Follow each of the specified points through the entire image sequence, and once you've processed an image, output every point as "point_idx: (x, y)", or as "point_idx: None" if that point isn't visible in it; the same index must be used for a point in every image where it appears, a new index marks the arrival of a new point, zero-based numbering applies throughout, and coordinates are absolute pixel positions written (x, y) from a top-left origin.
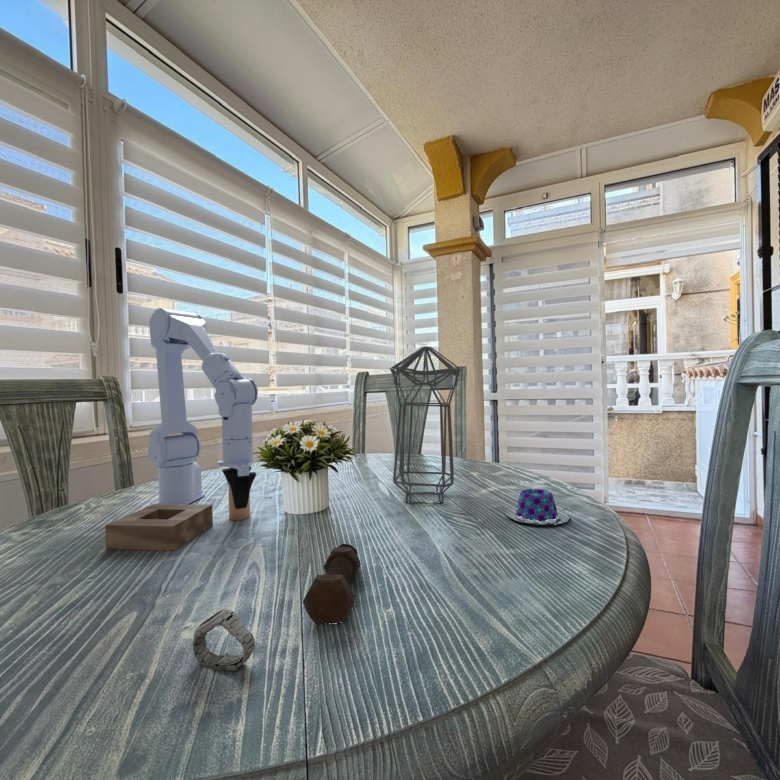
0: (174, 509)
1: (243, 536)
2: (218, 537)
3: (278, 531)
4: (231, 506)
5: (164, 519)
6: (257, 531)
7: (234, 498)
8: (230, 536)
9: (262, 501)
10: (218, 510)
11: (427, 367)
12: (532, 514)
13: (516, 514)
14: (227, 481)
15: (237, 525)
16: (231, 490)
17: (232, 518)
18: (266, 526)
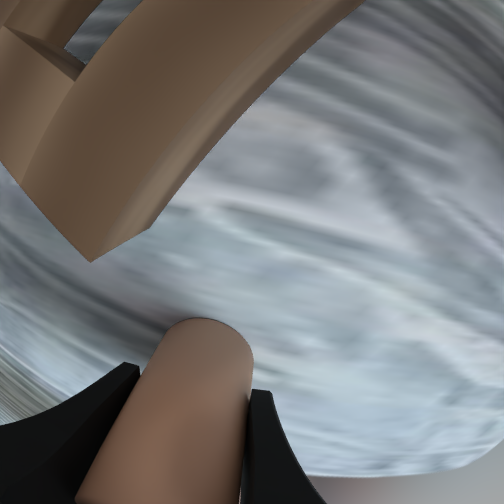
0: (139, 5)
1: (8, 284)
2: (20, 216)
3: (23, 364)
4: (157, 361)
5: (11, 12)
6: (31, 331)
7: (83, 391)
8: (16, 253)
9: (362, 451)
10: (397, 311)
11: None
12: None
13: None
14: (256, 498)
15: (100, 312)
16: (73, 422)
17: (175, 327)
18: (61, 369)
